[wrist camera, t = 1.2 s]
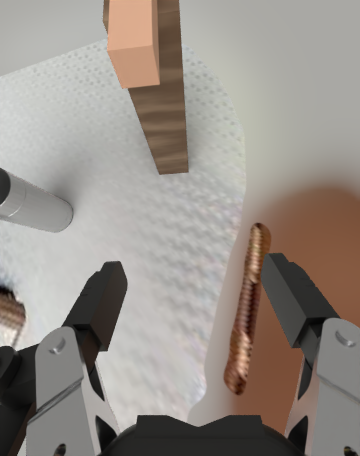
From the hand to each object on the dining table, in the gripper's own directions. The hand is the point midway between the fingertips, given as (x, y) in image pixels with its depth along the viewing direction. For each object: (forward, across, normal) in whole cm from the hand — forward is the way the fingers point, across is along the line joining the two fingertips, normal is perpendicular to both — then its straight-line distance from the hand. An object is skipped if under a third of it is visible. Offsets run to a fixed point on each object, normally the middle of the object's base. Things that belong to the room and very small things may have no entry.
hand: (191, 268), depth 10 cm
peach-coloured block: (+22, +4, -18) cm, 29 cm away
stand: (+48, +4, +1) cm, 48 cm away
